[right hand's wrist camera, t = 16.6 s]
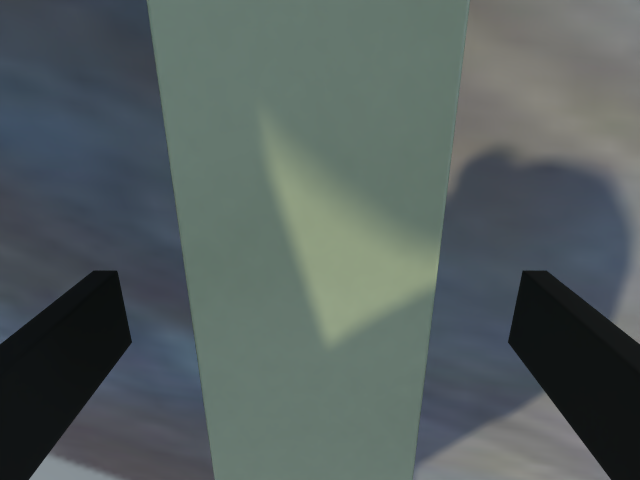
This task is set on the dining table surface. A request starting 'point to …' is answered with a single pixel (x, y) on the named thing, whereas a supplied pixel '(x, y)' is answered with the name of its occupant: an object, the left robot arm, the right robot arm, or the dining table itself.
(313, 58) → the sage box
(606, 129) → the dining table surface
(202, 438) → the dining table surface
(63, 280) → the dining table surface
